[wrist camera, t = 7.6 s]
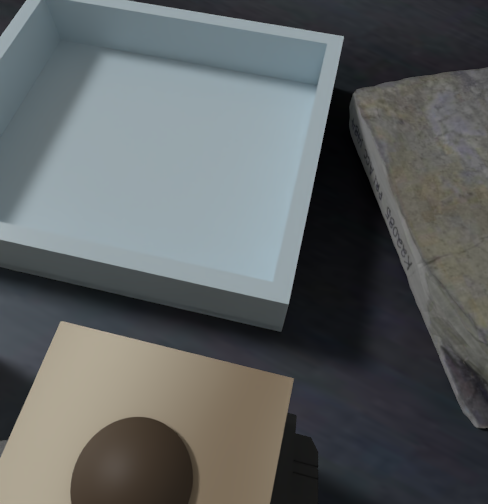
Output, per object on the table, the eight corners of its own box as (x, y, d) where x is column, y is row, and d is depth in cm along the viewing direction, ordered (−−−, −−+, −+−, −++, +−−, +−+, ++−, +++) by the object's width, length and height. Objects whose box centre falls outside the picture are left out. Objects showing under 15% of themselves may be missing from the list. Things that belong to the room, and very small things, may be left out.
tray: (-76, 249, 23) (-124, 211, 20) (57, 37, 30) (36, -15, 27) (281, 331, 21) (288, 304, 18) (332, 86, 29) (343, 36, 25)
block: (101, 543, 16) (-70, 608, 7) (146, 406, 18) (59, 319, 9) (233, 580, 15) (232, 702, 6) (263, 436, 18) (294, 377, 9)
